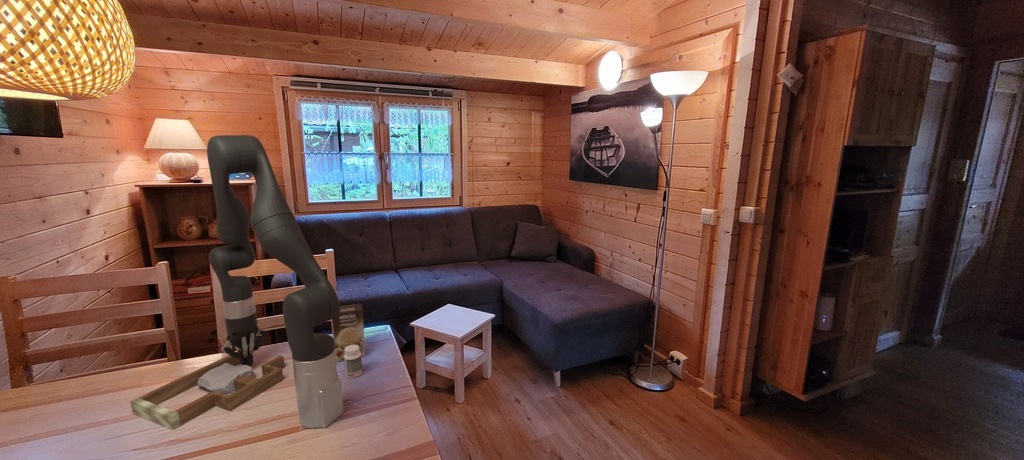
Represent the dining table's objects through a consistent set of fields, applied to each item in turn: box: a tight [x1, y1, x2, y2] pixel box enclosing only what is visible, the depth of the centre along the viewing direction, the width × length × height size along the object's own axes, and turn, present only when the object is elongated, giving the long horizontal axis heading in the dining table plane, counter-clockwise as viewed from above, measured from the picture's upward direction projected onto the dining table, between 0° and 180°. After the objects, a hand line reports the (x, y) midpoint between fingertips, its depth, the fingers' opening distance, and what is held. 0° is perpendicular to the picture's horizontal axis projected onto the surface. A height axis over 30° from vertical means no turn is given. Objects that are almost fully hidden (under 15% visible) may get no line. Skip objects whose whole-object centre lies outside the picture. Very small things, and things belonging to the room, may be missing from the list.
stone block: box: [197, 363, 255, 395], centre depth 110 cm, size 12×5×10 cm
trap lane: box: [130, 351, 286, 431], centre depth 107 cm, size 22×30×4 cm
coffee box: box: [331, 303, 366, 363], centre depth 125 cm, size 9×6×16 cm
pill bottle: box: [343, 345, 363, 379], centre depth 115 cm, size 5×5×8 cm
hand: (247, 367), depth 117 cm, fingers closed
